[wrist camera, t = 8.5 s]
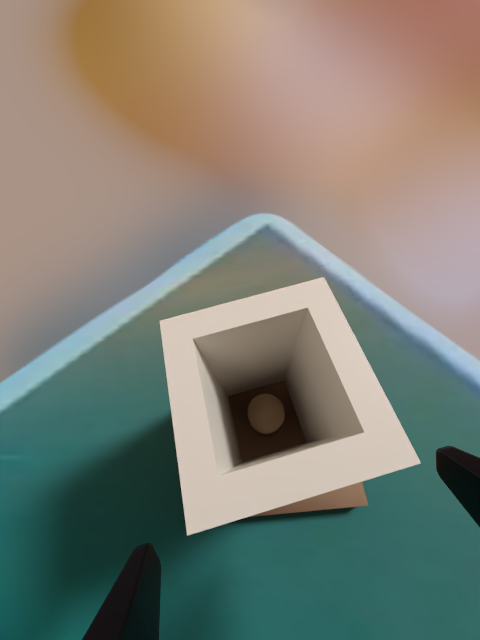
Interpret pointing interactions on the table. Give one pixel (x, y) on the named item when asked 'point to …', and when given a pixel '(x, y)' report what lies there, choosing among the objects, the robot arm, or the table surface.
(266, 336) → the sleeve
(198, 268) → the table surface
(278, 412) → the post stand
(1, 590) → the table surface
